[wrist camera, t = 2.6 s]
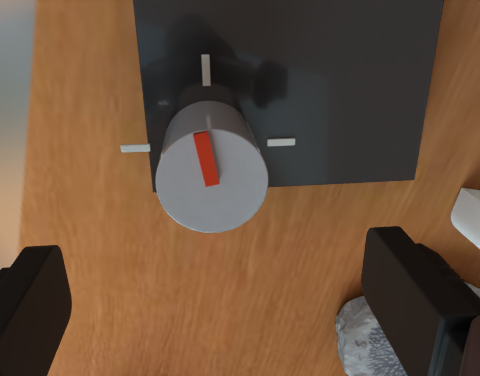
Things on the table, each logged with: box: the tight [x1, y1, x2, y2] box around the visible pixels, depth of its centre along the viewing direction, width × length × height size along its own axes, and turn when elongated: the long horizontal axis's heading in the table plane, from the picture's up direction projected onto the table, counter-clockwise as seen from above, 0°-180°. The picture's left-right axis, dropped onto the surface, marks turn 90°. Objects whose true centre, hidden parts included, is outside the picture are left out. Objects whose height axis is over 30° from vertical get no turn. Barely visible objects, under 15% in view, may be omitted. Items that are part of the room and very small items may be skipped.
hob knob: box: [155, 101, 268, 233], centre depth 19 cm, size 4×4×5 cm
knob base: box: [121, 0, 444, 193], centre depth 22 cm, size 15×12×3 cm
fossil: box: [335, 282, 480, 376], centre depth 30 cm, size 11×4×10 cm
